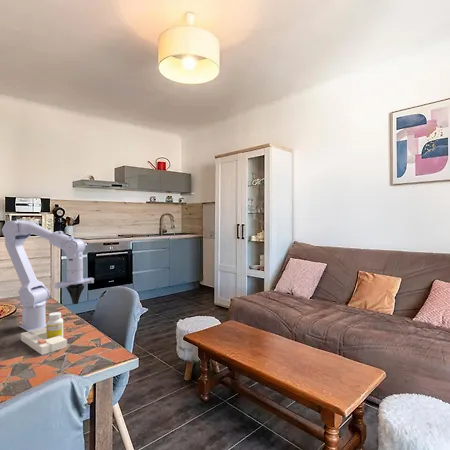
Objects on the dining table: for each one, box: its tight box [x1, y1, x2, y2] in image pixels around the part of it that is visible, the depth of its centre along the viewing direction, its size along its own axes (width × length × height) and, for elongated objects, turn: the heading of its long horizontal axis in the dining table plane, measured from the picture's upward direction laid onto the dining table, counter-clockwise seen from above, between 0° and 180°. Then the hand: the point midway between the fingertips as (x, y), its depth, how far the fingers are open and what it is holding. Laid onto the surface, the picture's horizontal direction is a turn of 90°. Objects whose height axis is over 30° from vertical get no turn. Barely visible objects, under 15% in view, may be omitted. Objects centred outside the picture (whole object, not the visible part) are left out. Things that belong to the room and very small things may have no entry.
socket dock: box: [20, 327, 68, 356], centre depth 110 cm, size 19×8×3 cm, turn 51°
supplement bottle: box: [46, 311, 64, 339], centre depth 113 cm, size 5×5×10 cm
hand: (75, 303), depth 124 cm, fingers closed
